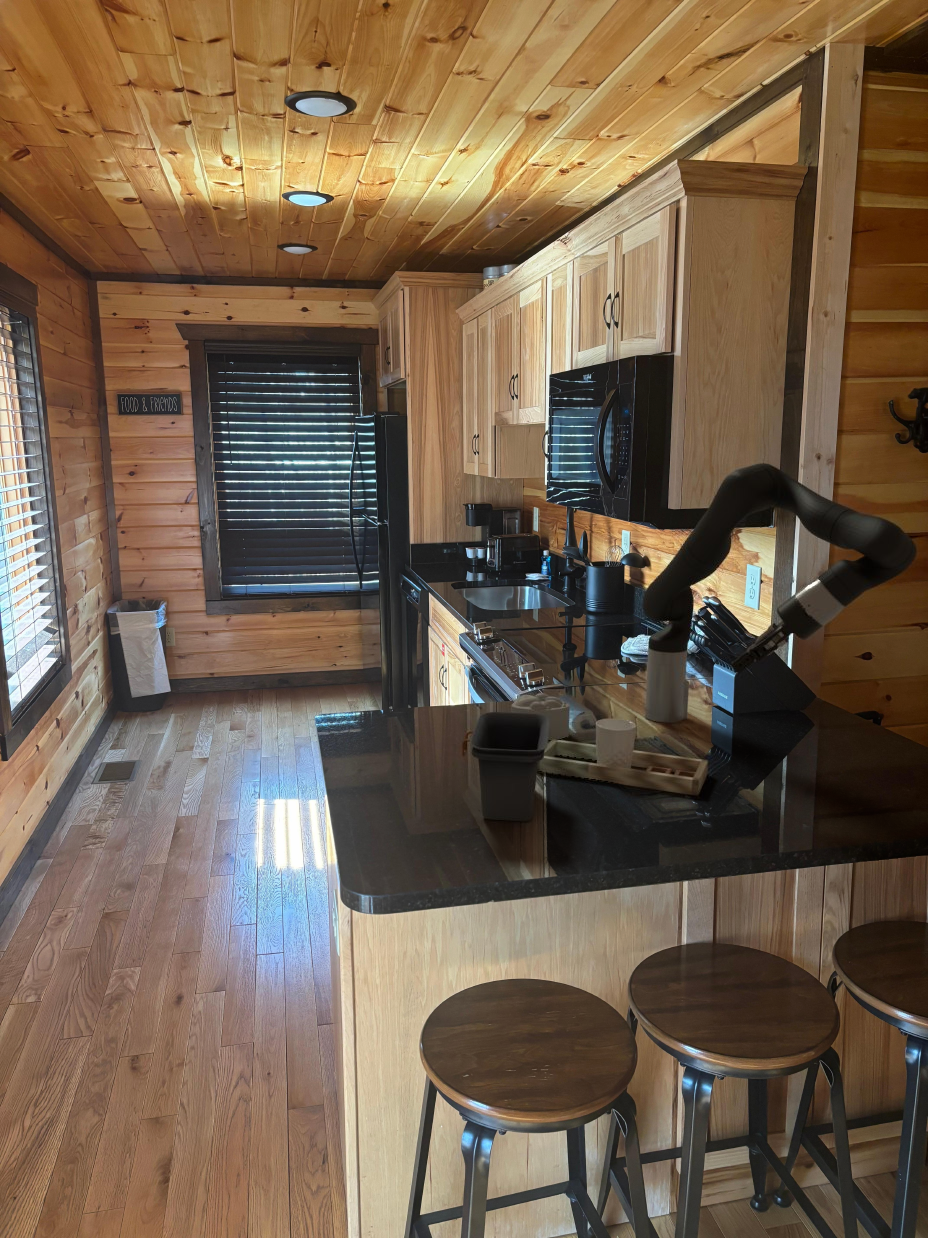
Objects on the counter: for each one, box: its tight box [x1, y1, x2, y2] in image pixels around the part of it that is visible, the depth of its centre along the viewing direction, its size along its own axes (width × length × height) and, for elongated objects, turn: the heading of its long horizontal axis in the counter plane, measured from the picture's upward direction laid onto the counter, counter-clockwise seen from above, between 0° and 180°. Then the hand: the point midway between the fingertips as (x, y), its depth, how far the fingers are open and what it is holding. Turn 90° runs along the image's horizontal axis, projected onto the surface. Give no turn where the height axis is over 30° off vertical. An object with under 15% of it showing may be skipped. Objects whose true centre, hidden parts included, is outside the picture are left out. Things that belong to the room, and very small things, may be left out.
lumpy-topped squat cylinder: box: [510, 692, 570, 740], centre depth 203 cm, size 10×13×9 cm
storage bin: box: [461, 711, 550, 822], centre depth 162 cm, size 21×16×14 cm
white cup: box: [595, 718, 637, 769], centre depth 179 cm, size 8×8×10 cm
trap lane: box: [537, 739, 709, 797], centre depth 179 cm, size 32×12×3 cm, turn 67°
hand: (735, 667), depth 167 cm, fingers closed
